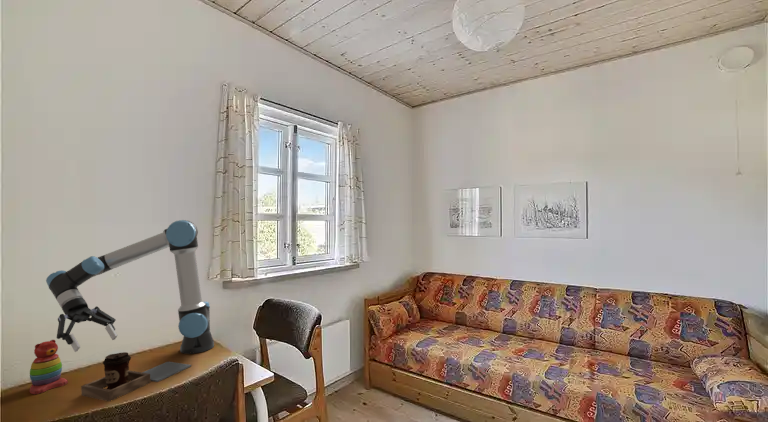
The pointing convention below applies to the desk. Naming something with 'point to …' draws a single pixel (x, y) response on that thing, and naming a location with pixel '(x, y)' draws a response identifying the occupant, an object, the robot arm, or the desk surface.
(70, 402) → the desk surface
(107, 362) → the coffee cup
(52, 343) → the stacking bear
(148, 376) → the square frame
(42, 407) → the desk surface
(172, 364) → the mat
